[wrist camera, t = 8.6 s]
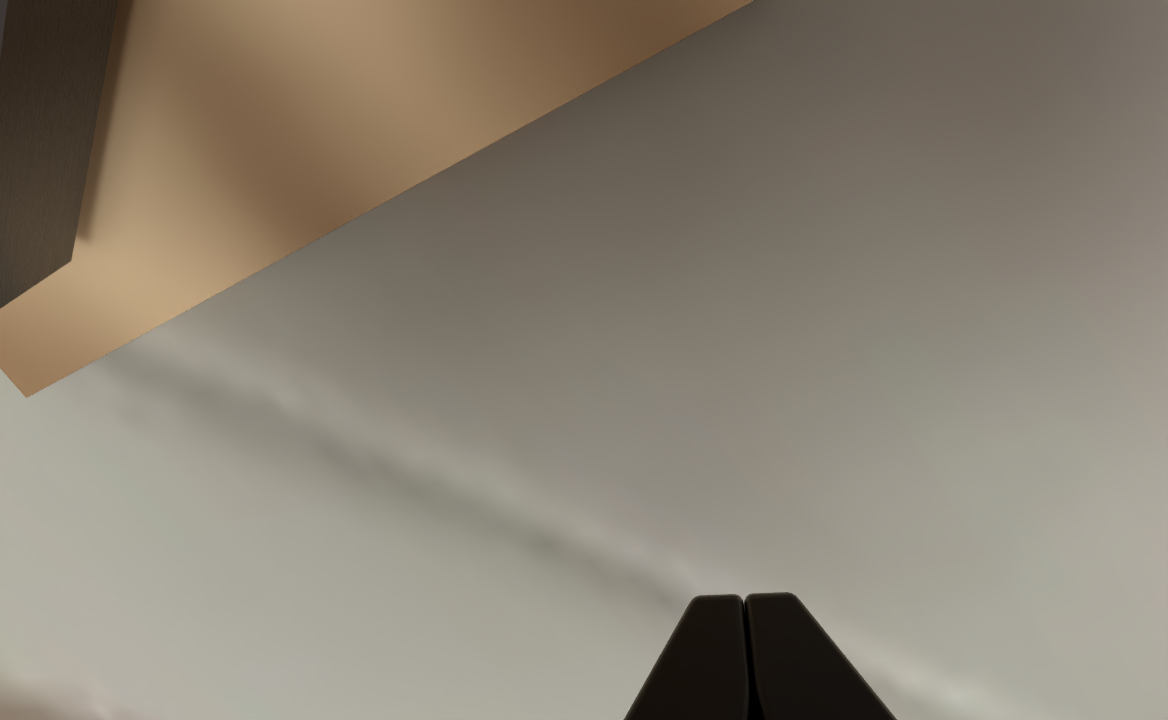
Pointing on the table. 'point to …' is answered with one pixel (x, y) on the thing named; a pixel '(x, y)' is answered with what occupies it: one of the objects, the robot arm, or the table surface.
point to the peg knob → (46, 129)
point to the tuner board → (294, 137)
